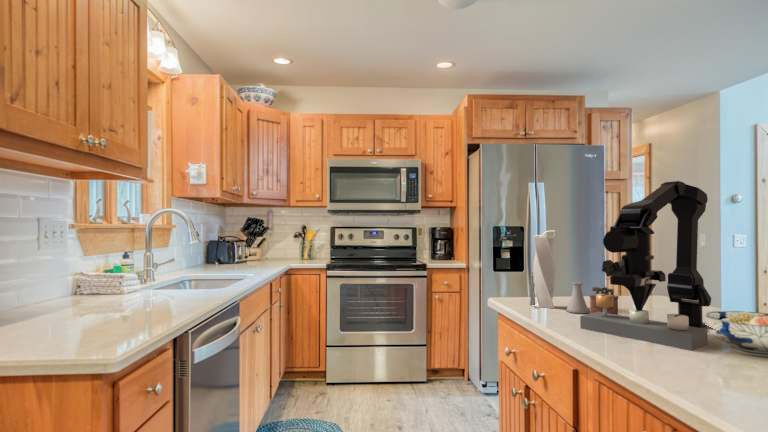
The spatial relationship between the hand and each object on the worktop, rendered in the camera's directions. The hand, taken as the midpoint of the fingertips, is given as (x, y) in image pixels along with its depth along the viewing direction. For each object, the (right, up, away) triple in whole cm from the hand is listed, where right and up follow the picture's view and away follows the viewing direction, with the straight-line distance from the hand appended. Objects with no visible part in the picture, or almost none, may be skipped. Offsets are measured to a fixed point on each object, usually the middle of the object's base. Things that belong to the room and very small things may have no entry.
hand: (639, 310), depth 112 cm
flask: (-2, -8, +31) cm, 32 cm away
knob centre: (0, -7, 0) cm, 7 cm away
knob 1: (-5, -4, +7) cm, 10 cm away
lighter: (+1, -7, +19) cm, 21 cm away
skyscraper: (-10, -8, +40) cm, 42 cm away
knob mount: (0, -7, 0) cm, 7 cm away
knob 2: (+5, -6, -8) cm, 11 cm away
